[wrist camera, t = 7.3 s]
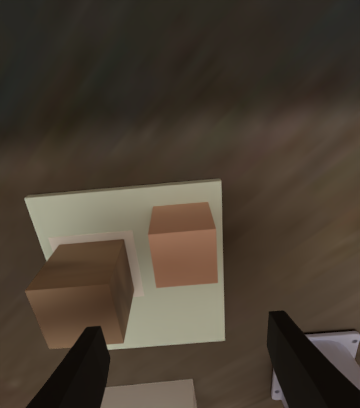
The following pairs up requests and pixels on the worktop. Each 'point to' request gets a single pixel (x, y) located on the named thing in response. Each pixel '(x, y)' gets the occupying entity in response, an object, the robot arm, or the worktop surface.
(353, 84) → the worktop surface
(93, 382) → the robot arm
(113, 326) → the walnut cube
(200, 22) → the worktop surface
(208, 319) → the baseplate
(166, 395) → the milk
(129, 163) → the worktop surface
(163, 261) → the terracotta block
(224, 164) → the worktop surface
